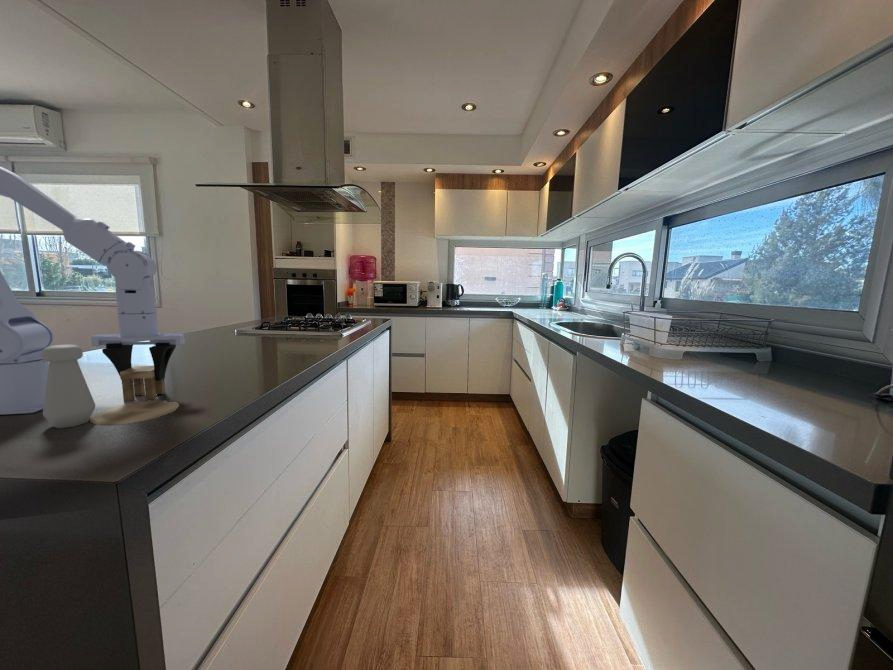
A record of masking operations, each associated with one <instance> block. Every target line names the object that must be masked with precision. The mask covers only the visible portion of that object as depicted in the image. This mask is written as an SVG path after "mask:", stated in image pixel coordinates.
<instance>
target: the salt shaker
mask: <svg viewBox="0 0 893 670" xmlns="http://www.w3.org/2000/svg"><path fill="white" fill-rule="evenodd" d="M83 355H84V352H83V348H82V347H81V346H79V345H77V344H70V343H69V344H68V343H67V344H56V345H51V346H50V347H47V348H45V349H44V350H43V352H42V356H43V359H44V361H47V362H49V368H48V376H47V383H46V391H45V399H44V407H43V409H42V415H43V417H44V419H45V420H46V422H48V423H49V424H50V426H51V427H53V428H56V429H64V428H65V429H66V428H72V427H78V426H81V425H83V424H86V423H89V422H90V418H91V417H92V416H93V413H94V411H95V409H96V403H95V400H94V397H93V396H92V393H91V391H90V388H89V387H88V382H86V379H85V377H84V374H83V372H82V371H83V370H81V367H80V364H79V361H78V360H79V359H82V358H83Z"/></svg>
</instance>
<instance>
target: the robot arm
mask: <svg viewBox="0 0 893 670" xmlns="http://www.w3.org/2000/svg"><path fill="white" fill-rule="evenodd" d="M0 196H2V197H6V198H10V199H11V200H13V201H15V202H16V203H18V204H19V205H21V206H23V208H26V209H27V210H29V211H31V212H32V213H34V214H35V215H37V216H39V217H40V218H42V219H43V220H45V221H46V222H48V223H50V224H52V225H53V226H55V227H57V228H58V229H60V230H61V231H62V234H63V237H64V240H65V242H66V243H68V244H70V245H71V246H73V247H74V248H76V250H78V251H81V252H82V253H83V254H85V255H87V256H88V257H90V258H91V259H93V260H95V261H96V262H98V263H99V264H101V265H102V266H105V267H106V269H107V271H108V272H109V274H110V275H111V276H113V278H114V282H115V283H114V284H115V298H116V309H117V319H118V329H119V331H118V332H119V333H116V334H115V333H113V334H96V335H91V336H90V338H91V346H92V347H100V346H105V348H102V349H101V351H102V354H103V355H105V357H106V358H108V360H110V362H111V363H112V365H113V366H114V368H115V369H116V371H117V374H118V375H119V377H120V372H121V371H124V370H126V369H129V368H132V367H133V366H132V354H133V349H134V348H133V347H134V345H135V346H136V345H138V346H139V345H140V346H142V345H143V346H145V345H148V346H149V345H153V346H149V347H148V350H149V353H150V355H151V356H150V357H151V358H152V363H153V366H154V374H155V380H156V381H160V380H162V379H164V380H165V378H166V371H167V368H168V365H169V362H170V358H171V357H172V354H174V351H175V349H176V348H177V347H176V346H180V345H184V344H186V337H185V334H184V333H176V334H175V333H161V332H160V333H159V325H158V313H157V303H156V301H157V300H156V290H155V287H154V286H155V285H154V276H155V274H156V272H157V264H156V262H155V260H154V259H153V258H152V257H151V256H150V255H149V254H148V253H147V252H144V251H139V250H135V248H136V245H135V244H133V243H132V242H130V241H128V242H126V241H125V240H124V239H122V238H121V237H119V236H117V235H116V234H115V233H113V232H112V231H110V226H109V225H108V224H106V223H105V222H103V221H98V222H97V221H95V220H94V219H91V218H78V217H77V216H76V215H74V213H71V211H69V210H68V209H66V208H65V207H63V206H62V205H61V204H59V203H58V202H57V201H55V200H53V198H51V197H49V196H48V195H46V194H45V193H44V192H42V191H41V190H39V188H37V187H36V186H34V185H33V184H31V183H30V182H29V181H27V180H26V179H25V178H23V177H21V176H20V175H18V174H16V173H14V172H13V171H12V170H9V169H7V168H5V167H2V166H1V165H0ZM53 332H54V331H52V329H51V328H50V327H49V325H47V324H45V323H44V322H42V321H40V319H38V318H37V316H36V314H35V312H34V311H33V310H30V309H29V308H28V307H27V306H25V305H23V304H22V303H20V302H19V300H18V299H17V296H16V295H15V294H14V292H13V290H12V289H11V287H10V285H9V283H8V281H7V280H6V279H5V276H4V275H3V273H2V272H1V270H0V415H17V414H18V415H19V414H20V415H21V414H32V413H36V412H40V411H43V407H44V399H45V391H46V383H47V376H48V368H49V362H47V361H44V359H43V356H42V352H43V350H44V349H45V348H47V347H50V346H52V344H53V342H54V340H55V339H54V338H55V337H54V333H53ZM120 381H122V379H120Z"/></svg>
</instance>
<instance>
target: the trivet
mask: <svg viewBox="0 0 893 670" xmlns="http://www.w3.org/2000/svg"><path fill="white" fill-rule="evenodd" d="M164 401H165V400H163V401H160V400H151V401H146V400H145V401H139V402H131V403H127V404H121V405H117V406H113V407H110V408H107V409H104V410H101V411H99V412H96V413H95V414H92V415H91V416H90V419H89V422H90V423H91V422H92V424H95V425H98V424H99V426H116V425H118V426H119V425H126V424H127V425H128V423H129V424H135V423H140V421H141V422H145V420H146V421H150V420H154V419H158V418H161V417H163V415H164V416H166V414H167V415H169V414H171V413H173V412H175V411H177V410H178V409H179V408H178V407H180V404H179V403H178V402H176V401H174V402H172V403H171V402H170V403H168V402H166V403H165V402H164ZM177 408H178V409H177ZM176 409H177V410H176ZM168 413H169V414H168ZM160 416H161V417H160ZM157 417H158V418H157ZM149 419H150V420H149ZM134 422H135V423H134Z"/></svg>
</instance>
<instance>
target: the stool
mask: <svg viewBox="0 0 893 670" xmlns="http://www.w3.org/2000/svg"><path fill="white" fill-rule="evenodd" d="M119 379H120V380H121V379H122V380H121V385H122V397H123V398H122V399H123V402H124V403H126V402H127V403H128V401H131V402H133V401H135V400H136V396H135V395H142V396H144V395H145V401H146V400H151V401H155V400H156V399H157V395H156V394H163V393H165V394H166V385H165V378H164V379H162V380H160V381H156V380H155V374H154V365H138V366H137V365H135V366H132V368H129V369H126V370H124V371H121V372H120V376H119ZM143 394H144V395H143ZM163 395H164V394H163ZM155 398H156V399H155ZM134 399H135V400H134ZM154 399H155V400H154ZM132 400H133V401H132Z"/></svg>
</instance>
